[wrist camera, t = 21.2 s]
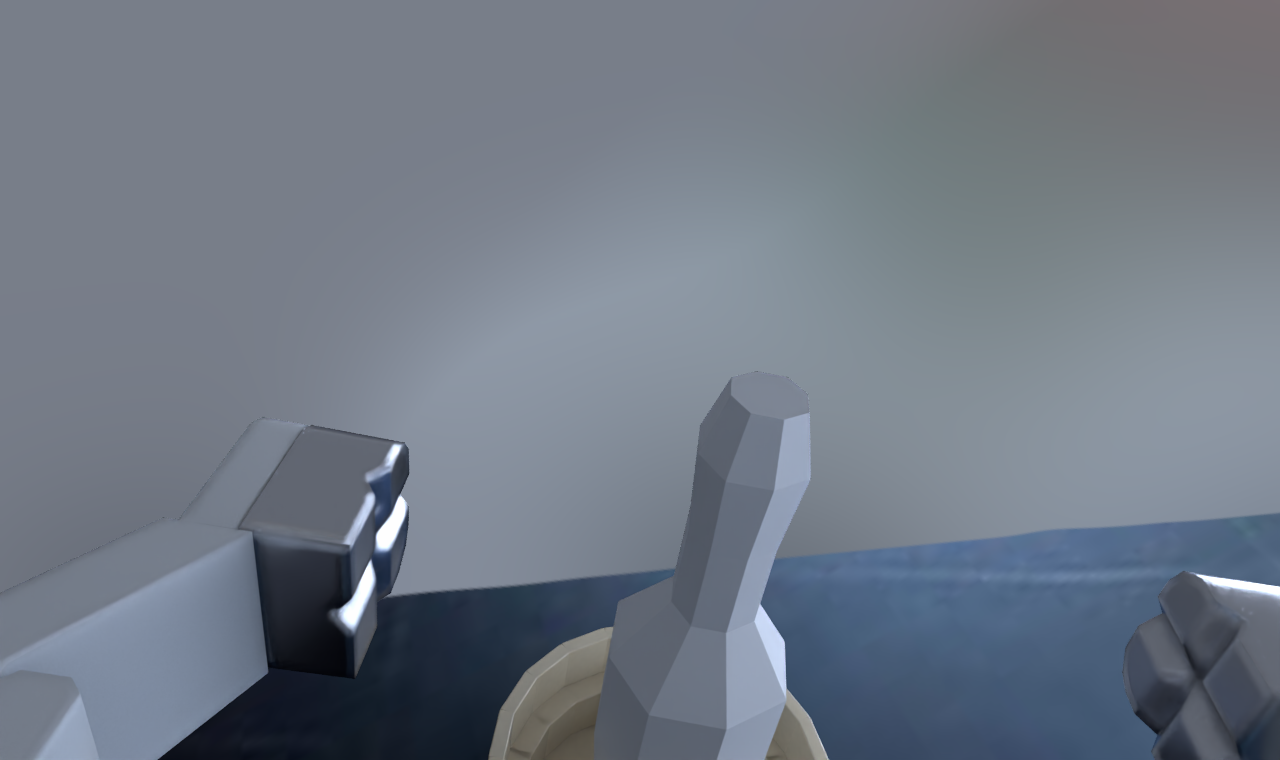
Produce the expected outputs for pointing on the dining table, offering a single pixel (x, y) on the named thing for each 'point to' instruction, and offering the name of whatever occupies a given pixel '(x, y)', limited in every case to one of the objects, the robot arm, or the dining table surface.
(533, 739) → the bowl
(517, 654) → the dining table surface
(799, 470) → the faceted bottle
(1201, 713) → the robot arm
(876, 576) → the dining table surface
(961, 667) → the dining table surface
